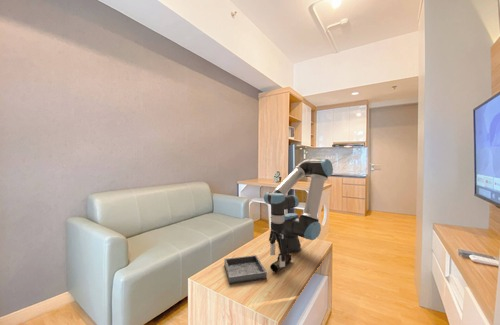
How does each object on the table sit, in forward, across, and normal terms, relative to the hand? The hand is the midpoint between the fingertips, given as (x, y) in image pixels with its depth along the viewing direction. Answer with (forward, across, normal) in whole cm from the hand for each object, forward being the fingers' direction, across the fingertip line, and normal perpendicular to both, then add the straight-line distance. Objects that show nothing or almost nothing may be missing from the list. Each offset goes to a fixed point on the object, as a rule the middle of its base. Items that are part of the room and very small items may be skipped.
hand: (277, 260), depth 110 cm
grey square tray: (+5, -3, -18) cm, 19 cm away
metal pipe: (+8, +1, 0) cm, 8 cm away
